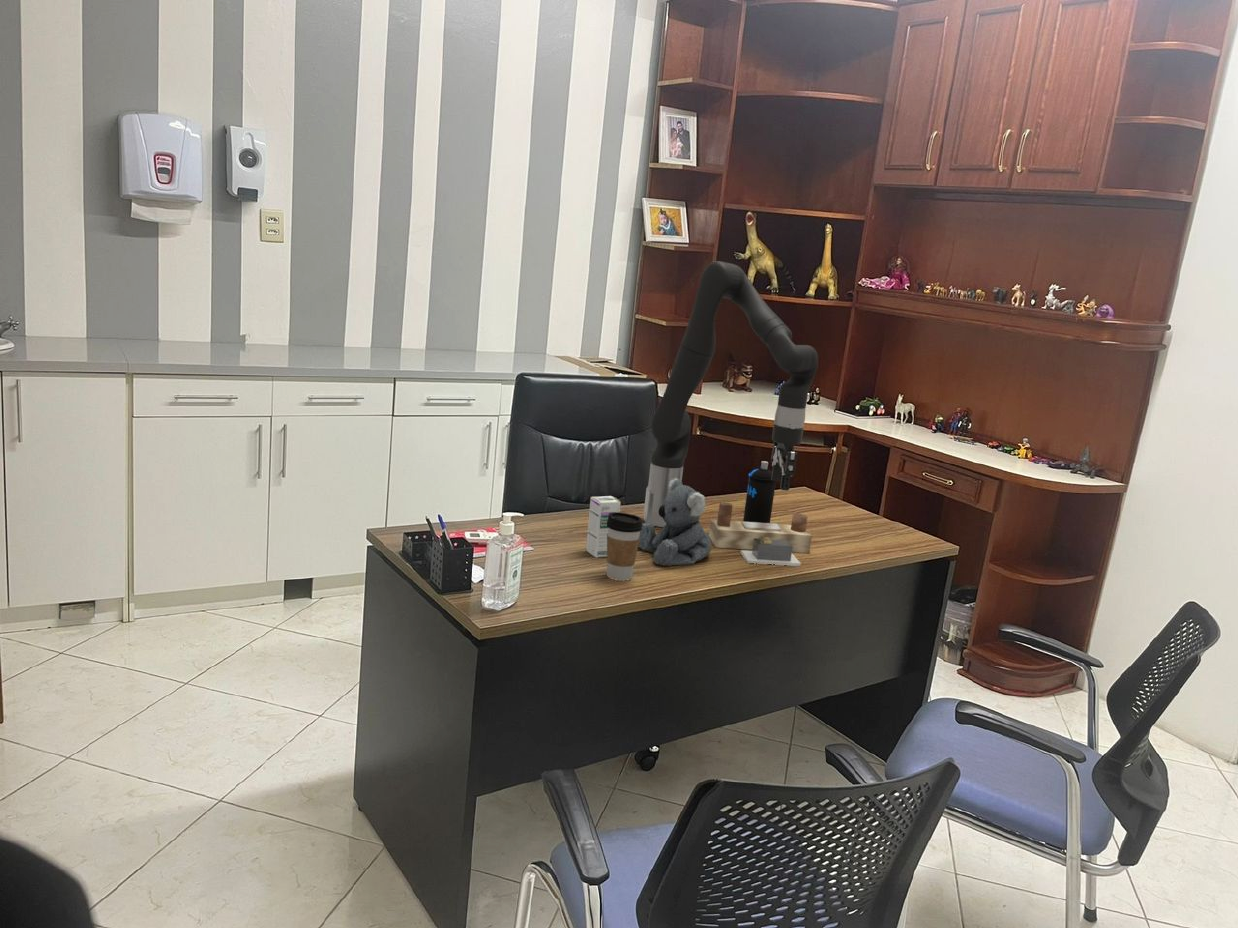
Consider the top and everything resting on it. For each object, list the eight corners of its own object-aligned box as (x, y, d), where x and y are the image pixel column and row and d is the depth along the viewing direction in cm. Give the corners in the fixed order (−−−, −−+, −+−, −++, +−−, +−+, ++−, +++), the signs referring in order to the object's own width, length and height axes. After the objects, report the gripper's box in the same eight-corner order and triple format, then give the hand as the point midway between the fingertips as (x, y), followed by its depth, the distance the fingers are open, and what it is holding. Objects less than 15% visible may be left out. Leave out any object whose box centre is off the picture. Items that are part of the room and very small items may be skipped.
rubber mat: (747, 563, 245) (748, 560, 244) (740, 553, 252) (740, 550, 252) (800, 566, 246) (800, 563, 246) (791, 556, 254) (791, 553, 254)
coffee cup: (600, 569, 229) (606, 509, 226) (635, 571, 230) (641, 512, 227) (602, 581, 221) (608, 520, 218) (638, 584, 222) (645, 522, 218)
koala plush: (631, 545, 249) (639, 473, 245) (693, 543, 256) (701, 473, 252) (658, 568, 234) (667, 492, 229) (723, 566, 241) (733, 491, 236)
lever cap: (756, 559, 246) (759, 541, 245) (752, 552, 251) (754, 535, 250) (790, 561, 247) (793, 543, 246) (785, 554, 252) (787, 537, 251)
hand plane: (715, 547, 255) (720, 508, 252) (708, 536, 264) (713, 498, 261) (809, 553, 258) (815, 514, 256) (799, 542, 267) (805, 504, 264)
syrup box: (595, 558, 237) (601, 502, 233) (585, 550, 242) (590, 495, 238) (615, 556, 239) (621, 501, 236) (605, 549, 244) (610, 494, 241)
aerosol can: (769, 526, 279) (778, 460, 275) (770, 534, 271) (780, 466, 267) (741, 523, 280) (749, 457, 275) (741, 531, 272) (750, 463, 267)
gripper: (767, 417, 248) (758, 477, 251) (782, 428, 234) (773, 491, 238) (795, 419, 249) (786, 479, 252) (811, 430, 235) (802, 494, 239)
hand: (779, 485), depth 245 cm, fingers open, 8 cm apart
